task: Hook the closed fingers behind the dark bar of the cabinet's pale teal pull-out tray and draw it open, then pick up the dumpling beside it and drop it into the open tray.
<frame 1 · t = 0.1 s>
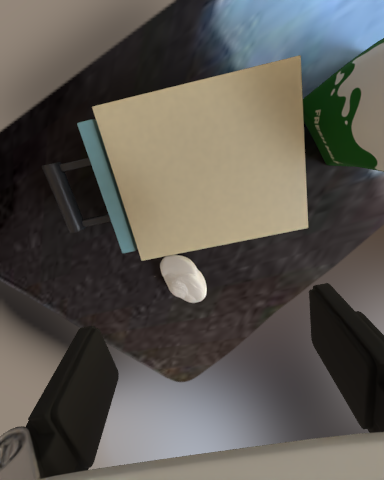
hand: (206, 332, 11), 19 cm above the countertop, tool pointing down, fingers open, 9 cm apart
milk carton: (342, 113, 25), on the countertop
dumpling: (182, 269, 32), on the countertop
cabinet: (203, 161, 26), on the countertop
drawer: (154, 177, 23), point 4 cm above the countertop, slide at 0.5 cm
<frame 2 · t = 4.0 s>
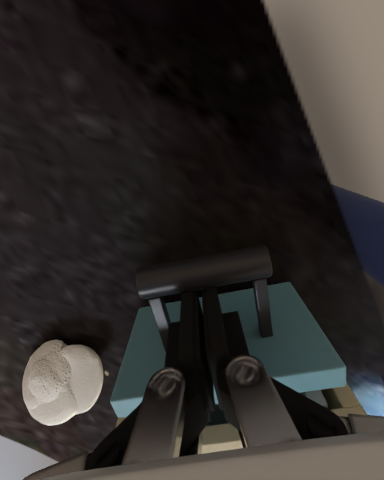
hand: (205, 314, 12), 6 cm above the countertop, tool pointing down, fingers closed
dumpling: (75, 354, 21), on the countertop
cabinet: (231, 378, 22), on the countertop
drawer: (227, 378, 16), point 4 cm above the countertop, slide at 1.1 cm
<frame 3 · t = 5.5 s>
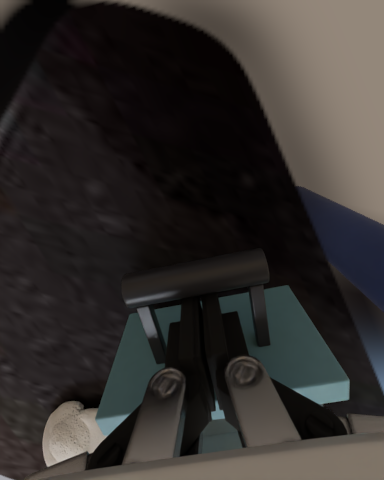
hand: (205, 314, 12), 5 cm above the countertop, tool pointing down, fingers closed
dumpling: (90, 411, 22), on the countertop
drawer: (222, 387, 15), point 4 cm above the countertop, slide at 6.9 cm
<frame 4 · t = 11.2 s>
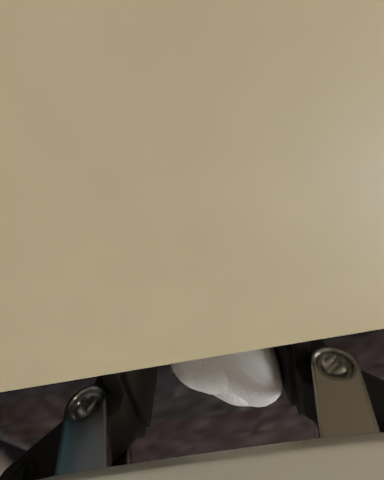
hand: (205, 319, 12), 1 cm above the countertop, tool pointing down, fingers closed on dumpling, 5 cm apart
dumpling: (205, 309, 13), on the countertop, touching gripper
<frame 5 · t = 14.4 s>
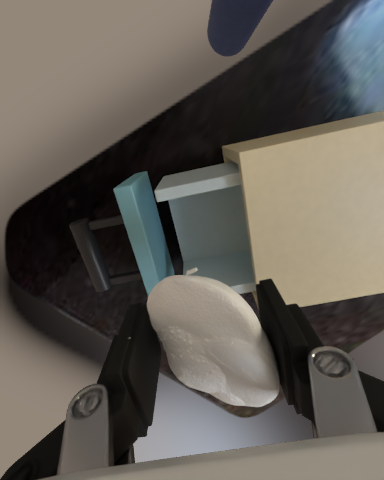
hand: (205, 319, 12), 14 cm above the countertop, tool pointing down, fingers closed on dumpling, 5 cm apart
dumpling: (204, 308, 13), point 14 cm above the countertop, touching gripper
cabinet: (302, 194, 24), on the countertop
drawer: (188, 233, 21), point 4 cm above the countertop, slide at 6.8 cm
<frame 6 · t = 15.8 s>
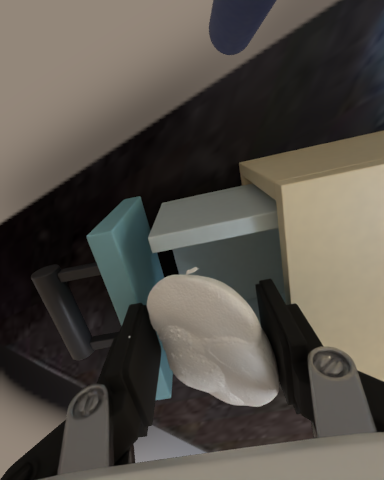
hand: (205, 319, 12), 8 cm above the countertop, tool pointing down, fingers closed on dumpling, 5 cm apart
dumpling: (204, 307, 13), point 7 cm above the countertop, touching gripper
cabinet: (341, 222, 19), on the countertop
drawer: (195, 281, 16), point 4 cm above the countertop, slide at 6.8 cm
when the fingers open (8 cm above the countertop, at t = 17.7 s): dumpling drops 4 cm, resting on drawer.
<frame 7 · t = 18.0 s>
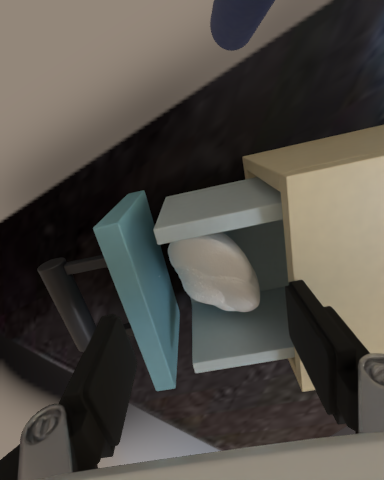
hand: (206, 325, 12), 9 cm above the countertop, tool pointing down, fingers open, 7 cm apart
dumpling: (207, 246, 16), point 3 cm above the countertop, touching drawer
cabinet: (344, 216, 19), on the countertop
drawer: (199, 274, 16), point 4 cm above the countertop, slide at 6.8 cm, touching dumpling
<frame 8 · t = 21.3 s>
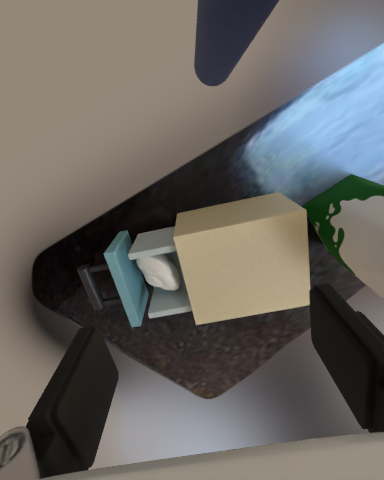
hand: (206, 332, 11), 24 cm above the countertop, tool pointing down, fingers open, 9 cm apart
milk carton: (335, 211, 35), on the countertop
dumpling: (158, 258, 33), point 3 cm above the countertop, touching drawer
cabinet: (233, 242, 36), on the countertop
drawer: (153, 272, 33), point 4 cm above the countertop, slide at 6.8 cm, touching dumpling
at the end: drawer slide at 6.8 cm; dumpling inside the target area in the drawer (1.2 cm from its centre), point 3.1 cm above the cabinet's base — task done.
